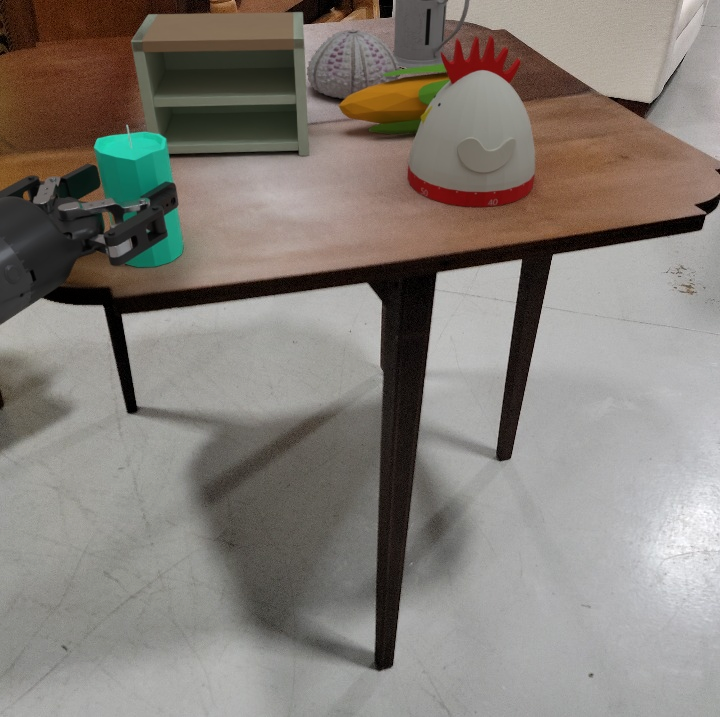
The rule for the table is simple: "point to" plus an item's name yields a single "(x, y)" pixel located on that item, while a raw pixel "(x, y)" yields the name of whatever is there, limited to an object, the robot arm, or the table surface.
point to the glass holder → (421, 31)
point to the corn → (396, 100)
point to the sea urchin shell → (350, 64)
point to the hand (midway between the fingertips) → (134, 183)
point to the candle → (139, 184)
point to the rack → (224, 81)
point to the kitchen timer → (474, 135)
